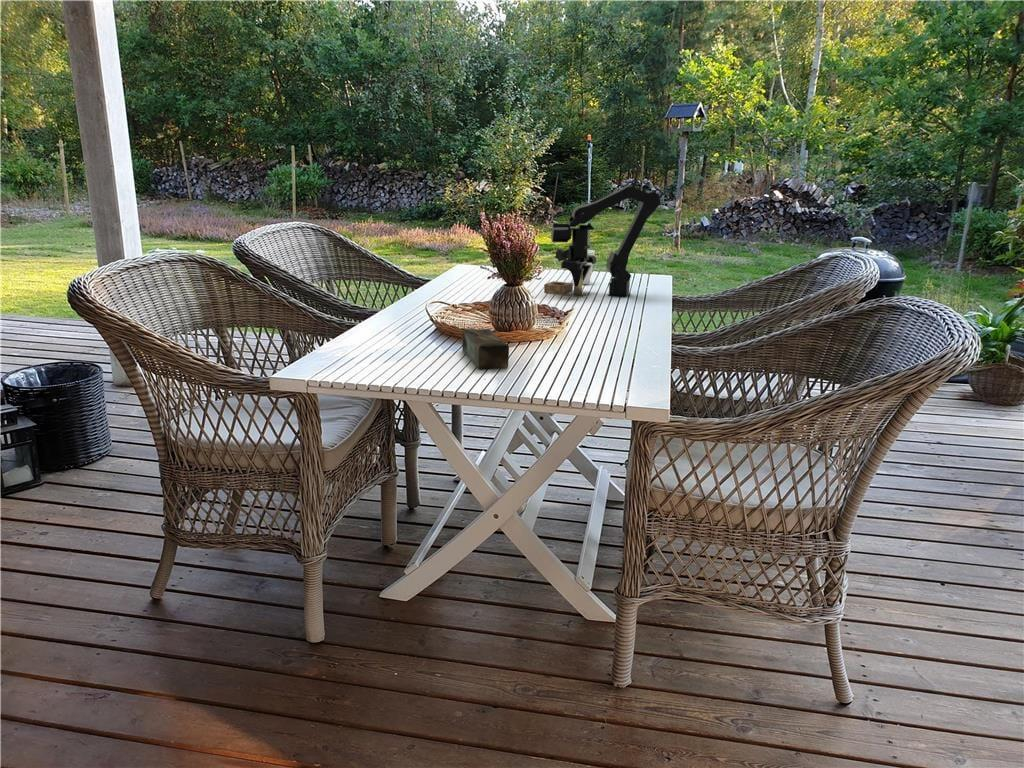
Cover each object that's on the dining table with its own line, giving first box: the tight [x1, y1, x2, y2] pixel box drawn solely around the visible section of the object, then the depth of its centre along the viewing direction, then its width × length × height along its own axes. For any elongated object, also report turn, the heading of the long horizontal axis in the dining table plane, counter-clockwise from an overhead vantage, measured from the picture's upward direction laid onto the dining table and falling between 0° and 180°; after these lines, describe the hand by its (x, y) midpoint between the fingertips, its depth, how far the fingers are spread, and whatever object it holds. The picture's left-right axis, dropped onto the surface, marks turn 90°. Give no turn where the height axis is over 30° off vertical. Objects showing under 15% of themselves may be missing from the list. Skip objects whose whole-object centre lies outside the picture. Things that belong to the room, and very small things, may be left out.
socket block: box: [543, 280, 574, 296], centre depth 279 cm, size 8×8×4 cm
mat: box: [563, 292, 590, 299], centre depth 275 cm, size 7×7×1 cm
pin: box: [573, 267, 583, 296], centre depth 273 cm, size 3×3×10 cm
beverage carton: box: [461, 327, 510, 370], centre depth 191 cm, size 8×19×7 cm, turn 16°
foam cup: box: [572, 249, 596, 285], centre depth 297 cm, size 10×9×13 cm
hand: (578, 285), depth 273 cm, fingers closed on pin, 3 cm apart
